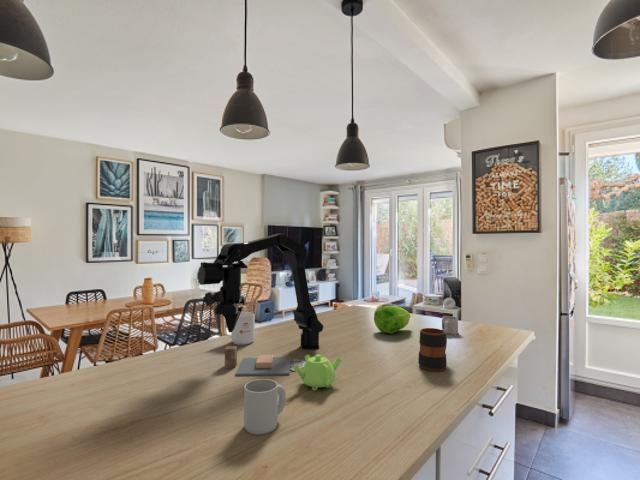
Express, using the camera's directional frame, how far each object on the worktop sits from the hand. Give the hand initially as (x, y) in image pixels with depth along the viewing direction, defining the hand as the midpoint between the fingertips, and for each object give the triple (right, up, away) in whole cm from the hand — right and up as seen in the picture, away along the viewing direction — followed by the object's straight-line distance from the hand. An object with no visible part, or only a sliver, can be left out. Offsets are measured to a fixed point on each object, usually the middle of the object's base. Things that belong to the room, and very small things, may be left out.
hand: (231, 331), depth 113 cm
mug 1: (-3, -11, +26) cm, 29 cm away
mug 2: (+66, -12, +1) cm, 67 cm away
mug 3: (+85, -12, +41) cm, 95 cm away
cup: (+17, -12, -35) cm, 41 cm away
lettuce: (+62, -12, +44) cm, 77 cm away
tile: (+11, -10, +4) cm, 15 cm away
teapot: (+28, -12, -14) cm, 33 cm away
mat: (+11, -11, 0) cm, 16 cm away
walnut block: (0, -11, 0) cm, 11 cm away
